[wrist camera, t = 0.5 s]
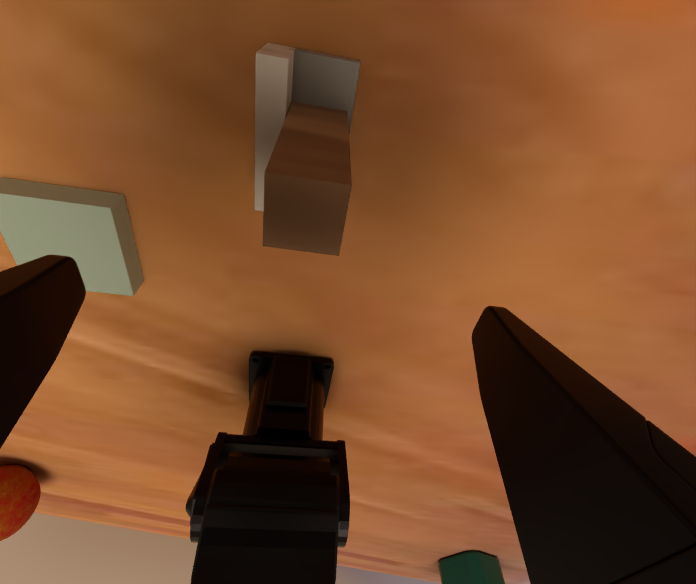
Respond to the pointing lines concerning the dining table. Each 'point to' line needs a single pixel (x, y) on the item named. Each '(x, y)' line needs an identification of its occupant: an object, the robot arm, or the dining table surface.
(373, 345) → the dining table surface
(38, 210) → the tile
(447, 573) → the pitcher
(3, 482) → the fruit
